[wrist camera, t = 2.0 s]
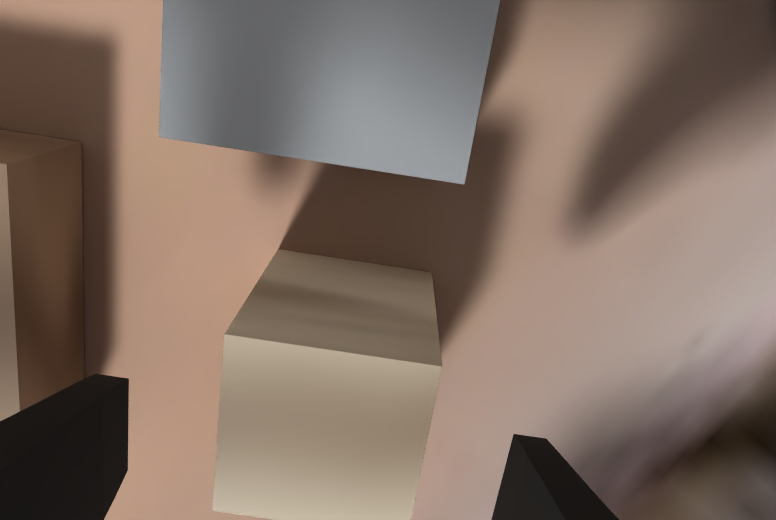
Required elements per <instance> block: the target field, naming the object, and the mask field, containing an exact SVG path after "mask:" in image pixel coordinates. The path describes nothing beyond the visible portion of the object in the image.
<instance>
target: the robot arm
mask: <svg viewBox="0 0 776 520" xmlns="http://www.w3.org/2000/svg"><path fill="white" fill-rule="evenodd" d="M128 390H129V379H127V378H120V377H113V376H106V375H99V374H94V375H92V376H90V377H87V378H85V379H83V380H81V381H79V382H77V383H75V384H73V385H71V386H69V387H67V388H65V389H63V390H61V391H59V392H57V393H55V394H53V395H51V396H49V397H47V398H45V399H43V400H41V401H40V402H38V403H36V404H34V405H32V406H30V407H28V408H26V409H24V410H22V411H20V412H18V413H16V414H14V415H12V416H10V417H8V418H6V419H4V420H2V421H0V520H104V518H105V516H106V514H107V512H108V510H109V508H110V506H111V504H112V502H113V500H114V498H115V496H116V494H117V492H118V490H119V488H120V485H121V483H122V481H123V479H124V477H125V475H126V473H127V471H128ZM492 520H619V519H618V518H617V517H616V516H615V515H614V514H613V513H612V512H611V511H610V510H609V509H608V508H607V506H606V505H605V504H604V503H603V502H602V501H601V500H600V499H599V498H598V497H597V495H596V494H595V493H594V492H593V491H592V490H591V489H590V488H589V486H588V485H587V484H586V483H585V482H584V481H583V480H582V479H581V477H580V476H579V475H578V474H577V473H576V472H575V471H574V469H573V468H572V467H571V466H570V465H569V464H568V463H567V461H566V460H565V459H564V458H563V457H562V456H561V455H560V453H559V452H558V451H557V450H556V449H555V448H554V447H553V446H552V445H551V443H550V442H549V441H548V440H547V439H545V438H538V437H531V436H524V435H517V434H514V435H513V439H512V443H511V447H510V451H509V454H508V458H507V462H506V466H505V470H504V474H503V478H502V482H501V485H500V489H499V493H498V497H497V501H496V505H495V509H494V512H493V516H492Z"/></svg>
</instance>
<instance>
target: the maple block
mask: <svg viewBox="0 0 776 520" xmlns="http://www.w3.org/2000/svg"><path fill="white" fill-rule="evenodd" d="M441 370H442V360H441V351H440V342H439V333H438V324H437V315H436V306H435V297H434V288H433V279H432V272H426V271H419V270H413V269H406V268H399V267H393V266H386V265H380V264H373V263H367V262H360V261H353V260H347V259H340V258H334V257H327V256H320V255H314V254H307V253H301V252H294V251H287V250H281V249H278V250H277V252H276V253H275V255H274V257H273V258H272V260H271V261H270V263H269V265H268V266H267V268H266V269H265V271H264V272H263V274H262V276H261V277H260V279H259V280H258V282H257V284H256V285H255V287H254V288H253V290H252V291H251V293H250V295H249V296H248V298H247V299H246V301H245V303H244V304H243V306H242V307H241V309H240V310H239V312H238V314H237V315H236V317H235V318H234V320H233V322H232V323H231V325H230V326H229V328H228V330H227V331H226V333H225V334H224V348H223V363H222V377H221V391H220V405H219V419H218V434H217V448H216V462H215V476H214V491H213V505H212V511H217V512H224V513H231V514H239V515H246V516H253V517H260V518H267V519H274V520H411V517H412V512H413V508H414V503H415V498H416V493H417V488H418V483H419V478H420V473H421V468H422V463H423V458H424V454H425V449H426V444H427V439H428V434H429V429H430V424H431V419H432V414H433V409H434V404H435V400H436V395H437V390H438V385H439V380H440V375H441Z"/></svg>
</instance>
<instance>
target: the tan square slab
mask: <svg viewBox="0 0 776 520" xmlns="http://www.w3.org/2000/svg"><path fill="white" fill-rule="evenodd" d="M83 379H85V365H84V288H83V211H82V142H79V141H73V140H66V139H60V138H53V137H47V136H40V135H34V134H27V133H21V132H14V131H8V130H1V129H0V421H2V420H4V419H6V418H8V417H10V416H12V415H14V414H16V413H18V412H20V411H22V410H24V409H26V408H28V407H30V406H32V405H34V404H36V403H38V402H40V401H41V400H43V399H45V398H47V397H49V396H51V395H53V394H55V393H57V392H59V391H61V390H63V389H65V388H67V387H69V386H71V385H73V384H75V383H77V382H79V381H81V380H83Z"/></svg>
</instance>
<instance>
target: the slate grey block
mask: <svg viewBox="0 0 776 520" xmlns="http://www.w3.org/2000/svg"><path fill="white" fill-rule="evenodd" d="M499 4H500V0H163V20H162V55H161V91H160V126H159V137H161V138H168V139H174V140H181V141H187V142H194V143H200V144H207V145H213V146H219V147H226V148H232V149H239V150H245V151H252V152H258V153H265V154H271V155H278V156H284V157H290V158H297V159H303V160H310V161H316V162H323V163H329V164H336V165H342V166H349V167H355V168H361V169H368V170H374V171H381V172H387V173H394V174H400V175H407V176H413V177H419V178H426V179H432V180H439V181H445V182H452V183H458V184H465V179H466V174H467V169H468V163H469V158H470V153H471V148H472V143H473V138H474V133H475V128H476V122H477V117H478V112H479V107H480V102H481V97H482V92H483V86H484V81H485V76H486V71H487V66H488V61H489V56H490V51H491V45H492V40H493V35H494V30H495V25H496V20H497V15H498V10H499Z"/></svg>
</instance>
